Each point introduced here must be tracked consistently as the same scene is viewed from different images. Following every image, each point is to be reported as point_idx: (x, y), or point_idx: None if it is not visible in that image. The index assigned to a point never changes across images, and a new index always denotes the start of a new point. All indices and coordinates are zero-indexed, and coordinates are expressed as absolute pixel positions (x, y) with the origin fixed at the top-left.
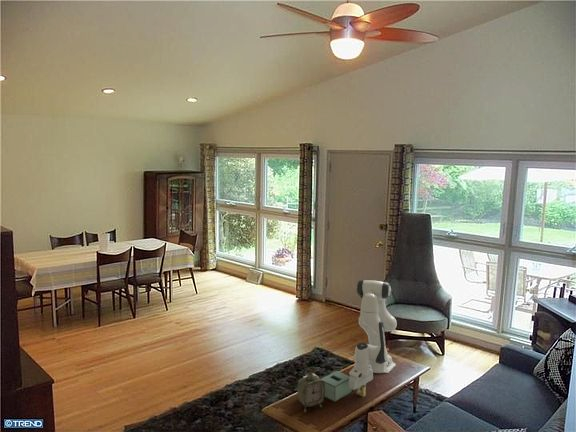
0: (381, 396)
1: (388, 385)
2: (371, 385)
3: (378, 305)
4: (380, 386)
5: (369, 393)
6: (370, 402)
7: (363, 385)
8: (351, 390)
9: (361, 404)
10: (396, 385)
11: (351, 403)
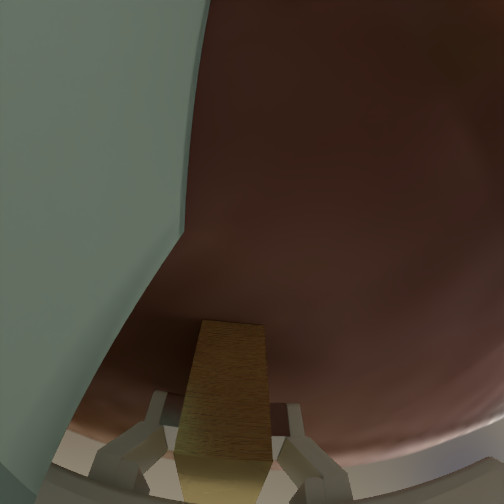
0: None
1: (496, 398)
2: (488, 327)
3: None
4: (481, 382)
5: (322, 406)
6: (172, 454)
7: (250, 501)
8: (174, 244)
9: (86, 416)
10: (497, 417)
11: None
